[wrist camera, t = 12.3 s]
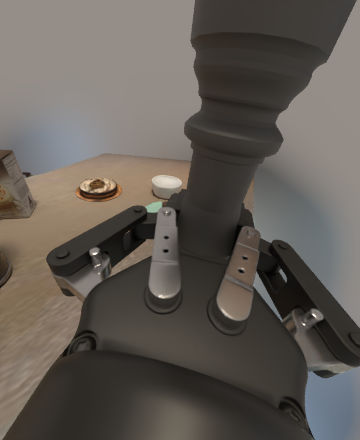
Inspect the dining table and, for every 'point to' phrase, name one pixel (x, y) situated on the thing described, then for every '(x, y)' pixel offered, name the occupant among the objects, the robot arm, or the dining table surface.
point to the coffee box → (13, 189)
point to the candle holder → (245, 101)
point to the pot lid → (155, 206)
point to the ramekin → (165, 186)
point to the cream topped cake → (98, 189)
